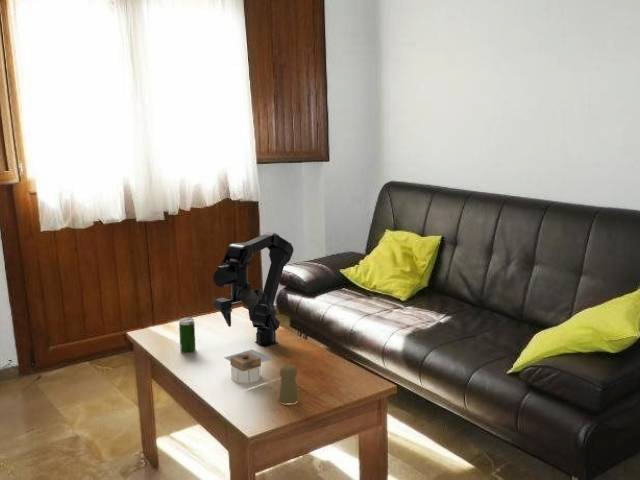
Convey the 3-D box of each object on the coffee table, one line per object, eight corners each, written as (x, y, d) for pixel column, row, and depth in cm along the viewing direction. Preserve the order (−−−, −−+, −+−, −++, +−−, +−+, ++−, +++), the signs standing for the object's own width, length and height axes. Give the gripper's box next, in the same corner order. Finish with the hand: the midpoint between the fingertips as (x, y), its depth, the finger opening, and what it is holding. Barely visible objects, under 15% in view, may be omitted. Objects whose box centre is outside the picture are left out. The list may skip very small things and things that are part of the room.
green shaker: (278, 397, 200) (277, 362, 198) (298, 396, 201) (298, 362, 199) (278, 405, 194) (278, 370, 192) (299, 405, 195) (299, 370, 193)
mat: (252, 350, 238) (252, 349, 238) (272, 359, 229) (272, 358, 229) (223, 358, 230) (223, 357, 230) (243, 368, 221) (243, 367, 221)
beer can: (183, 355, 233) (182, 323, 231) (178, 351, 237) (176, 319, 235) (198, 352, 236) (196, 320, 234) (192, 348, 240) (190, 316, 238)
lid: (248, 359, 218) (248, 350, 217) (261, 365, 213) (260, 356, 212) (230, 364, 213) (230, 355, 213) (243, 371, 208) (242, 361, 207)
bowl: (249, 370, 220) (249, 357, 219) (265, 378, 213) (265, 365, 212) (226, 378, 214) (226, 364, 213) (242, 386, 208) (242, 373, 207)
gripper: (229, 290, 215) (231, 335, 218) (275, 280, 227) (276, 323, 230) (211, 283, 223) (212, 327, 226) (256, 274, 235) (257, 315, 239)
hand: (240, 323), depth 230 cm, fingers open, 9 cm apart
